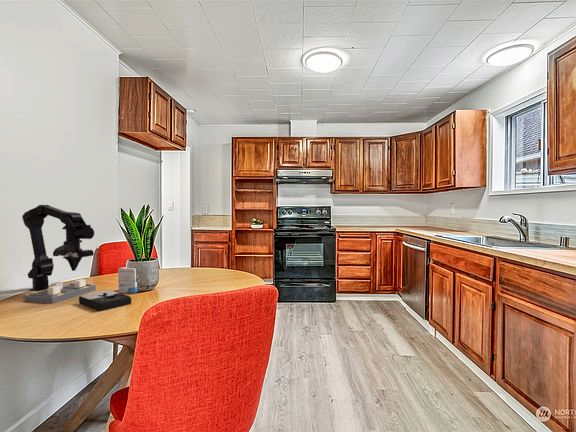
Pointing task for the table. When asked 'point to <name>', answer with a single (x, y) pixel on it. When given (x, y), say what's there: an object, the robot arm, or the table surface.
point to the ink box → (127, 280)
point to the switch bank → (59, 294)
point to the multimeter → (104, 300)
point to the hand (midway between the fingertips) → (73, 270)
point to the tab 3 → (79, 283)
